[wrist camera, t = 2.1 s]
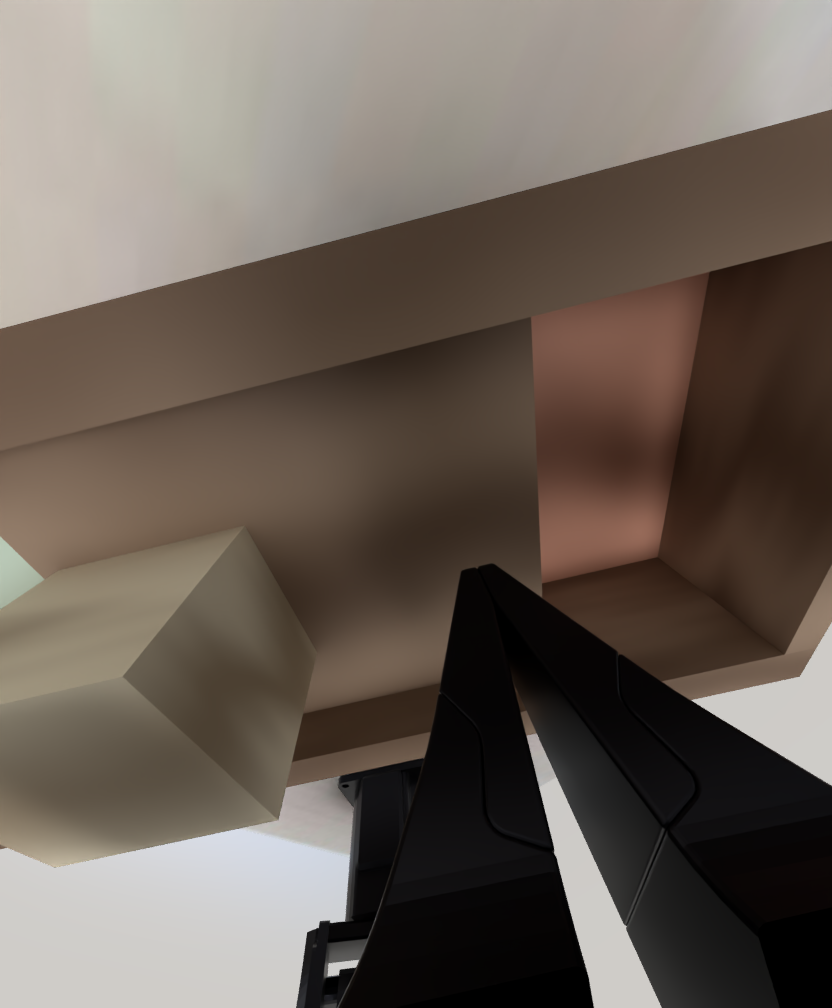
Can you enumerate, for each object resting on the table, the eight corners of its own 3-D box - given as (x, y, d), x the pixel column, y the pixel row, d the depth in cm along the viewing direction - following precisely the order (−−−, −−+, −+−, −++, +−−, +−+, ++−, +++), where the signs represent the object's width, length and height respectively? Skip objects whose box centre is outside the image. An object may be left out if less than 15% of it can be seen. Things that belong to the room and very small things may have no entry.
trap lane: (666, 571, 15) (799, 676, 10) (-10, 725, 16) (-183, 888, 11) (743, 201, 9) (1188, 15, 4) (-385, 492, 10) (-1165, 636, 5)
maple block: (317, 652, 10) (278, 820, 6) (171, 685, 10) (54, 867, 7) (244, 525, 8) (122, 676, 4) (58, 570, 8) (-216, 753, 4)
